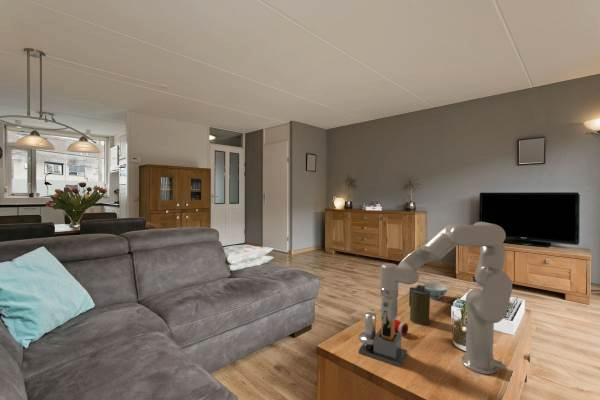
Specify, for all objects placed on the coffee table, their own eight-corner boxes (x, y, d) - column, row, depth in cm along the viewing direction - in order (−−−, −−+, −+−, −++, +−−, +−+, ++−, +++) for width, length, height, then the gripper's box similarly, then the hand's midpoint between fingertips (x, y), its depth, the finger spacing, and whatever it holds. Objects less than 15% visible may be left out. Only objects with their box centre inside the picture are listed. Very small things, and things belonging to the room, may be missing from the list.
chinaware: (429, 292, 209) (429, 281, 209) (450, 298, 198) (450, 287, 198) (418, 296, 200) (419, 285, 199) (440, 303, 188) (441, 291, 188)
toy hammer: (380, 347, 133) (380, 334, 133) (360, 337, 142) (361, 324, 142) (408, 334, 147) (408, 321, 147) (389, 325, 156) (389, 313, 156)
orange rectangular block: (394, 339, 127) (395, 313, 127) (391, 344, 124) (392, 316, 123) (384, 336, 130) (384, 310, 129) (381, 341, 126) (381, 314, 126)
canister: (432, 320, 162) (433, 285, 161) (425, 326, 154) (426, 290, 154) (413, 314, 169) (414, 281, 169) (405, 320, 162) (406, 285, 161)
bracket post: (406, 353, 128) (407, 318, 128) (400, 366, 118) (401, 328, 118) (363, 340, 139) (364, 307, 138) (354, 351, 129) (355, 316, 128)
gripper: (392, 300, 117) (391, 344, 117) (402, 288, 131) (401, 328, 132) (374, 296, 121) (373, 338, 121) (386, 285, 135) (385, 323, 136)
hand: (388, 332), depth 127 cm, fingers closed on orange rectangular block, 4 cm apart
